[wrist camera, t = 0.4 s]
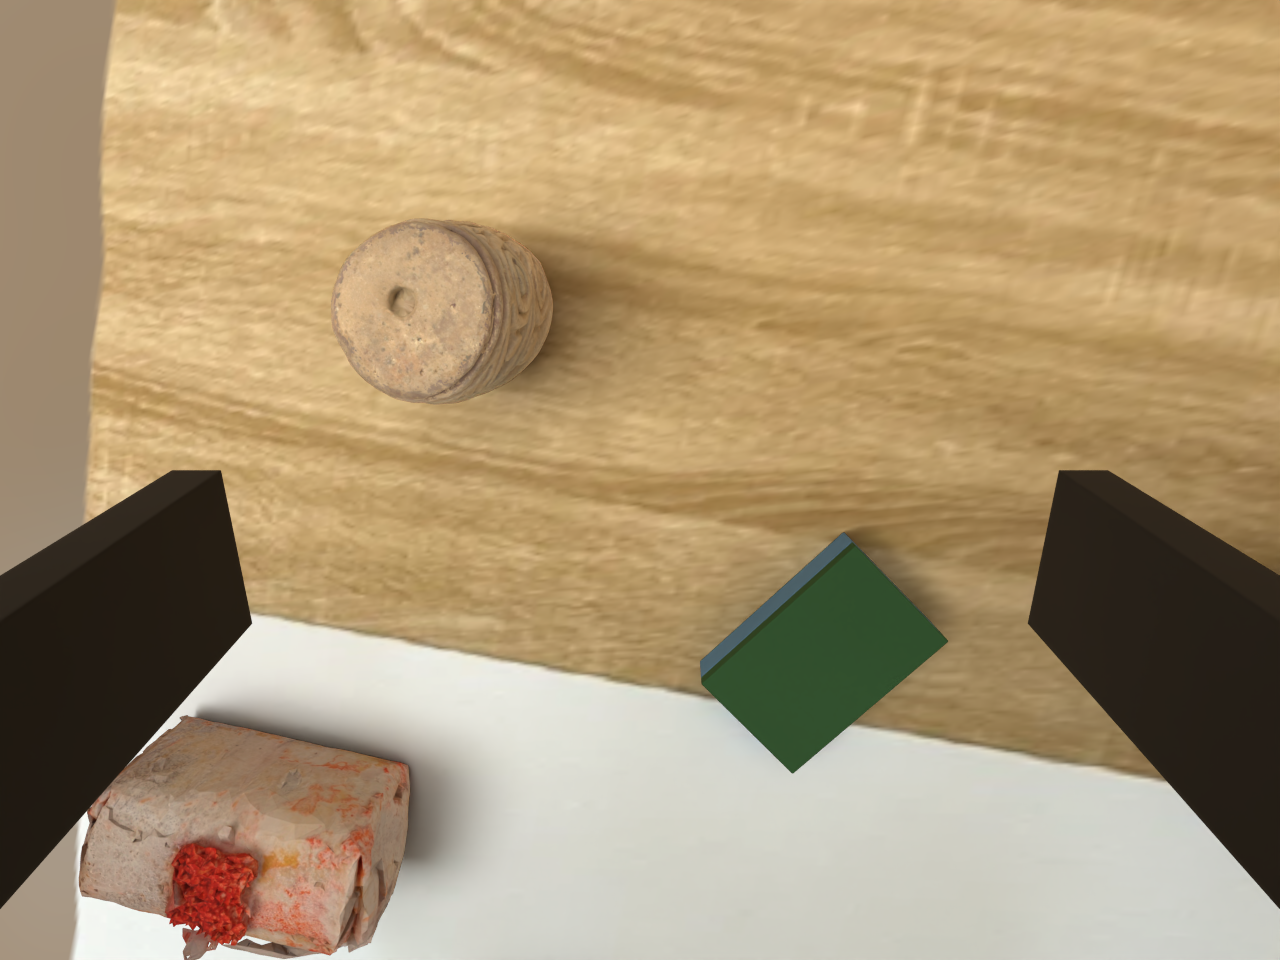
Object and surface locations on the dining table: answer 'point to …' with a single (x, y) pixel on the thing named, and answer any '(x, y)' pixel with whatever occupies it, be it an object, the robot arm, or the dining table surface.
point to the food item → (250, 839)
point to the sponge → (819, 653)
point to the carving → (440, 310)
